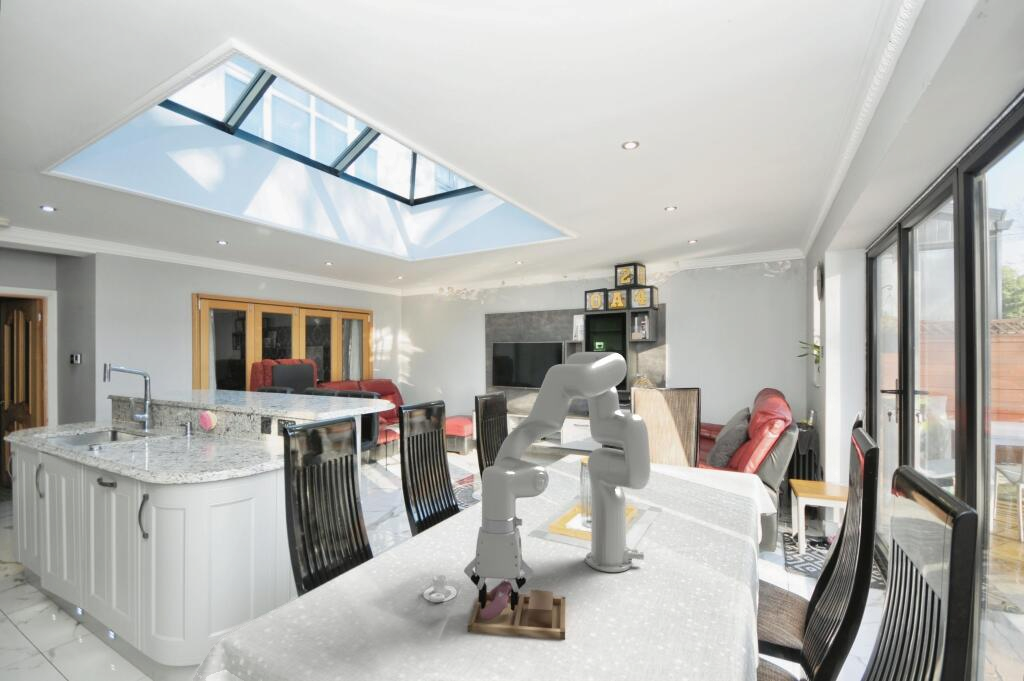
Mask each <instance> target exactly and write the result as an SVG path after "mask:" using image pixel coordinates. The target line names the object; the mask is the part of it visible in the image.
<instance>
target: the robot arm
mask: <svg viewBox="0 0 1024 681" xmlns="http://www.w3.org/2000/svg"><path fill="white" fill-rule="evenodd" d="M627 368H628V366H627V362H626V360H625V357H623V355H621V354H619V353H617V352H613V351H608V352H607V351H599V352H598V351H581V352H574V353H572V354H570V355H569V356H568V357H567V359H566V361H565V363H560V364H555V365H554V364H553V366H551V367H550V368H548V370H547V372H546V374H545V377H544V379H543V381H542V384H541V387H540V388H539V391H538V394H537V395H536V398H535V401H534V403H533V406H532V408H531V411H530V412H529V415H528V416H527V417H526V418H525V419H523V420H522V421H521V422H520V423H518V425H516V426H515V427H514V428H513V429H512V430H511V432H509V434H507V436H506V437H505V438H504V440H503V442H502V444H501V445H500V448H499V450H498V452H497V455H496V456H495V459H494V463H493V465H490V466H487V467H485V468H484V469H483V471H482V474H481V526H479V529H478V533H477V539H476V546H475V557H474V558H473V559H472V560H471V561H470V562H469V563H468V564H467V565H466V566H465V567H464V570H463V572H464V574H466V576H467V577H468V578H470V580H471V582H472V583H473V585H475V586H476V589H477V590H478V596H479V602H481V609H484V608H485V605H486V602H487V592H488V591H487V590H488V589H487V588H488V586H487V584H486V580H487V578H488V579H503V580H505V579H506V580H509V581H510V583H511V585H512V590H511V610H512V611H514V609H515V605H518V594H519V590H520V589H521V588H522V587H523V586H524V585H525V584H526V583H527V582H528V581H529V580H531V578H533V576H534V571H533V569H532V568H531V567H530V566H529V564H528V563H526V561H525V560H524V559H523V553H522V552H523V550H522V537H521V532H520V528H519V527H520V526H523V519H522V518H519V517H517V514H516V511H517V510H516V509H517V508H516V504H517V503H516V500H518V499H523V498H525V499H527V498H535V497H538V496H540V495H541V494H543V493H544V492H545V491H546V490H547V488H548V485H549V481H550V479H549V474H548V472H547V470H546V469H545V468H544V466H542V465H541V464H538V463H535V462H531V461H526V460H524V459H522V457H523V455H524V453H525V451H526V450H527V449H528V448H529V447H530V446H531V445H532V444H533V443H535V442H536V441H539V440H542V439H544V438H546V437H549V436H551V435H554V434H556V433H558V432H560V431H561V430H562V429H563V426H564V423H565V420H566V417H567V414H568V412H569V410H570V407H571V404H572V401H573V400H574V399H579V400H580V399H582V400H587V405H588V419H589V429H590V434H591V435H590V436H591V438H592V439H593V440H592V441H594V442H596V443H597V444H600V445H605V446H611V448H610V447H598V448H595V449H594V450H592V451H591V453H589V455H588V459H587V471H588V477H589V482H590V491H591V492H590V494H591V496H590V498H591V501H590V502H591V503H590V504H591V505H590V506H591V507H590V508H591V514H590V515H591V517H590V518H591V519H590V520H591V526H590V527H591V528H590V530H591V532H590V536H591V537H590V538H591V539H590V540H591V543H590V544H591V545H590V546H591V549H590V551H589V552H588V553H587V554H586V555H585V562H586V564H587V565H588V566H589V567H591V568H593V569H595V570H597V571H601V572H607V573H621V572H625V571H628V570H630V568H632V566H633V560H645V558H644V556H645V554H644V552H642V551H639V550H638V549H636V548H632V549H631V548H630V547H628V546H627V501H626V496H625V495H626V494H625V492H624V489H623V488H626V489H630V490H635V491H636V490H643V489H644V488H646V486H647V485H648V483H649V481H650V477H651V456H650V455H651V454H650V443H649V432H648V426H647V423H646V422H645V420H644V419H643V417H642V416H640V415H639V414H637V413H634V412H626V411H622V410H621V408H620V400H619V394H618V390H617V387H616V386H618V385H620V383H622V382H623V381H624V379H625V377H626V375H627ZM612 447H617V448H622V449H617V448H612ZM521 571H523V575H521Z"/></svg>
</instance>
